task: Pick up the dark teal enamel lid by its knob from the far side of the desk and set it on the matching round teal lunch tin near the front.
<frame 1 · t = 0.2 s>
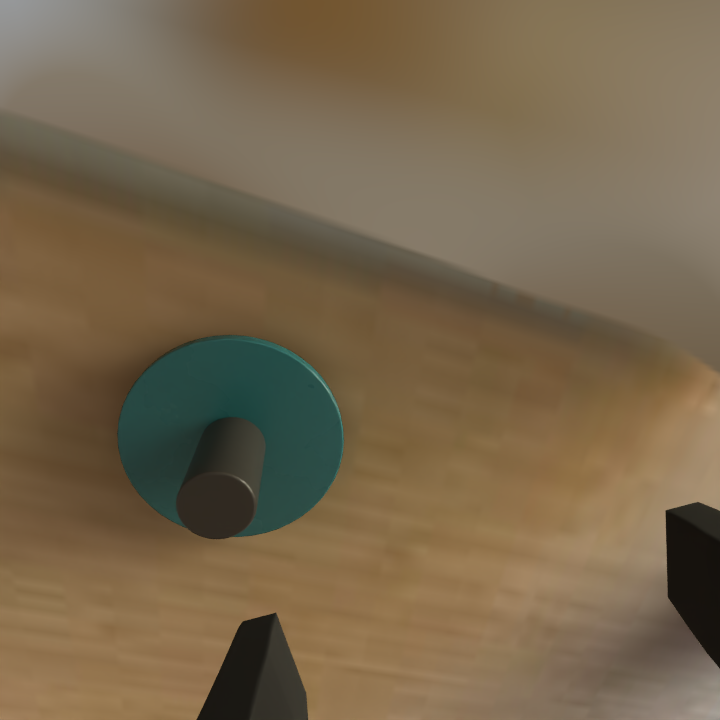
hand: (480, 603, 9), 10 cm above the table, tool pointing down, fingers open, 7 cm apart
tin lid: (235, 438, 18), point 1 cm above the table
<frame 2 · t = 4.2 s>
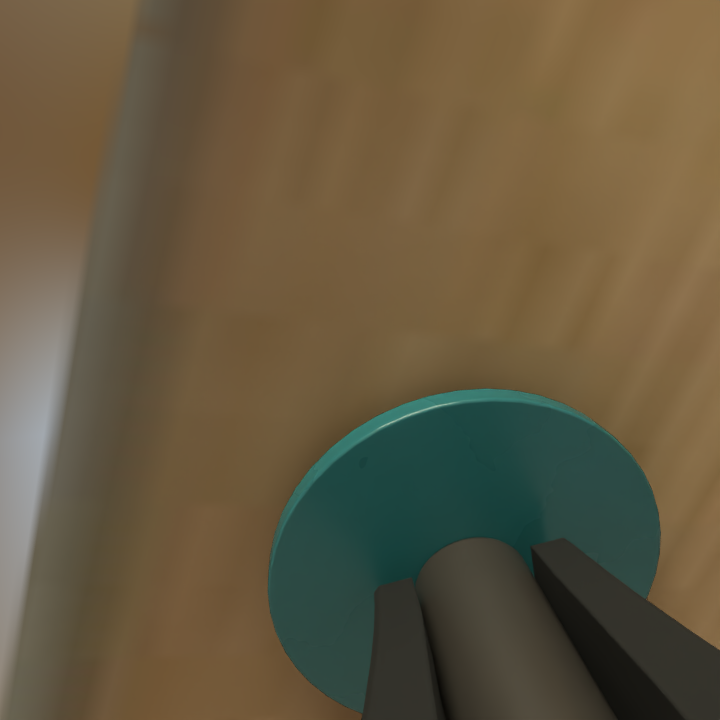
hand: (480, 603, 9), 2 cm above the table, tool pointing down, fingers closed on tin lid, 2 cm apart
tin lid: (462, 564, 10), point 1 cm above the table, touching gripper
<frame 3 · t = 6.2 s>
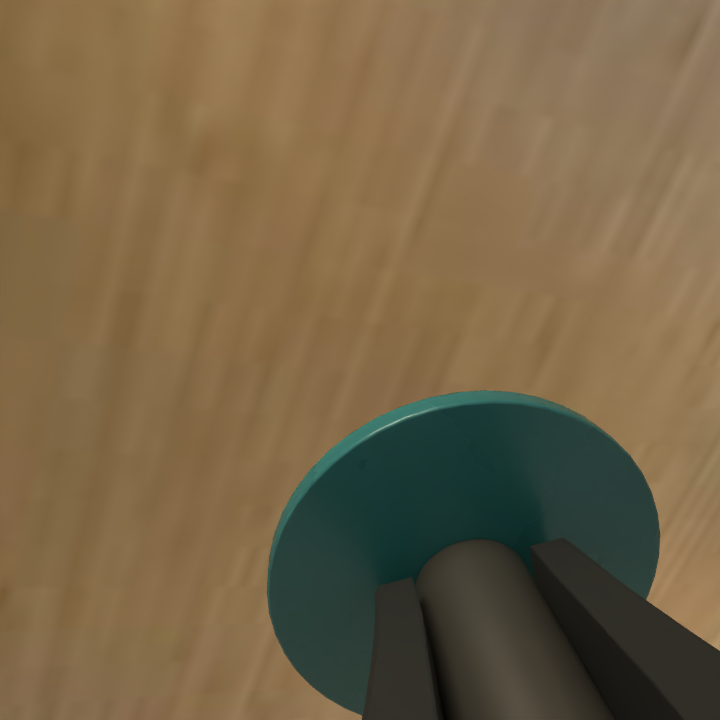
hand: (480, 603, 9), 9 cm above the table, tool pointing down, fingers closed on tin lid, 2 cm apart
tin lid: (462, 566, 10), point 8 cm above the table, touching gripper
when the fingers open (6 cm above the table, at t = 8.5 s): tin lid stays where it is, resting on lunch tin.
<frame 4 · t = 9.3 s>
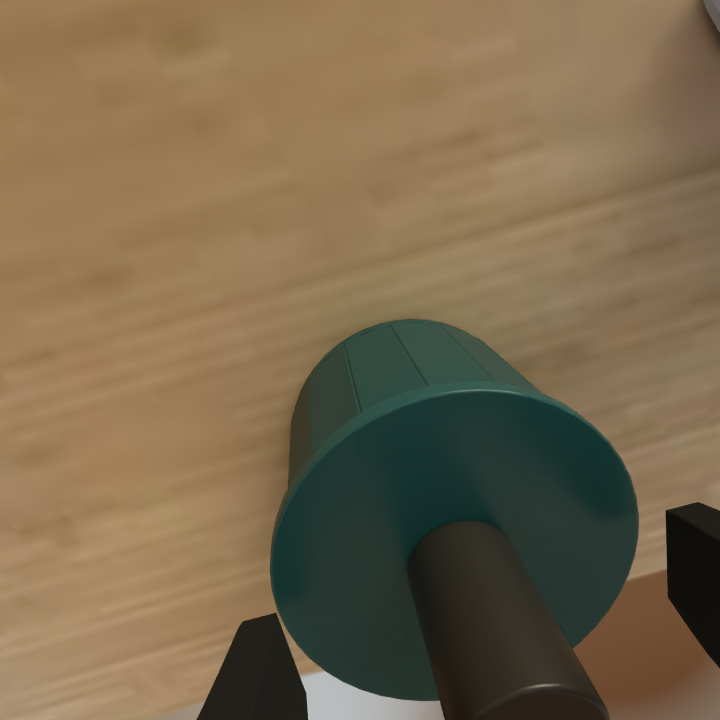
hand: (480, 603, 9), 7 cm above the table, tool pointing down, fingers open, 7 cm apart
lunch tin: (406, 428, 16), on the table
tin lid: (453, 547, 11), point 5 cm above the table, touching lunch tin
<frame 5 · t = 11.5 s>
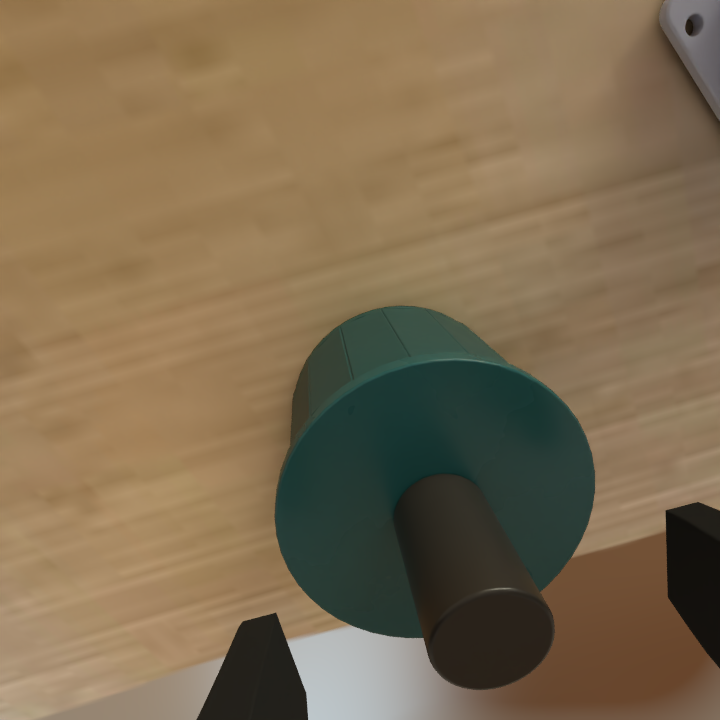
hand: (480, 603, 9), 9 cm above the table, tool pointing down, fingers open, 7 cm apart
lunch tin: (397, 406, 17), on the table
tin lid: (434, 500, 12), point 5 cm above the table, touching lunch tin
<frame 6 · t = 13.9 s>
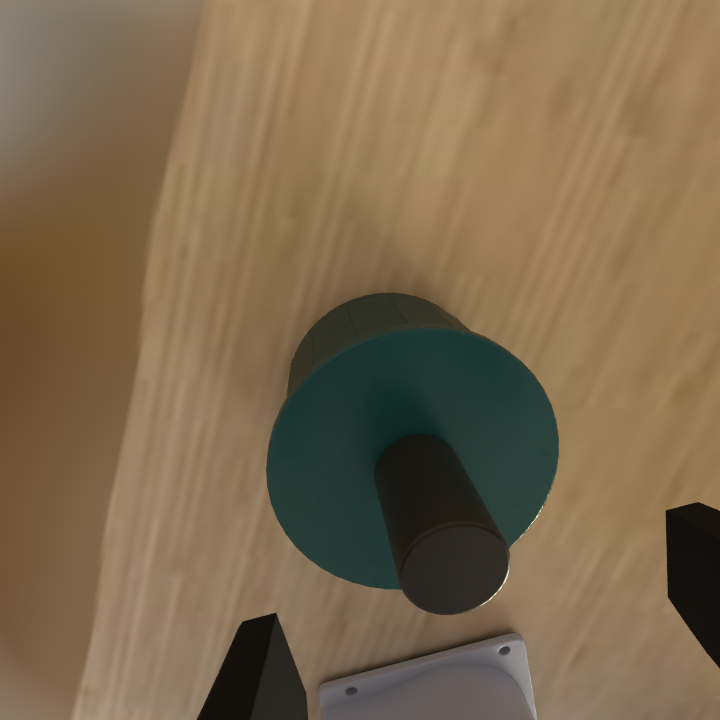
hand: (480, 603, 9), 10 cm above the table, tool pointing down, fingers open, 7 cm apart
lunch tin: (385, 387, 19), on the table
tin lid: (412, 461, 14), point 5 cm above the table, touching lunch tin
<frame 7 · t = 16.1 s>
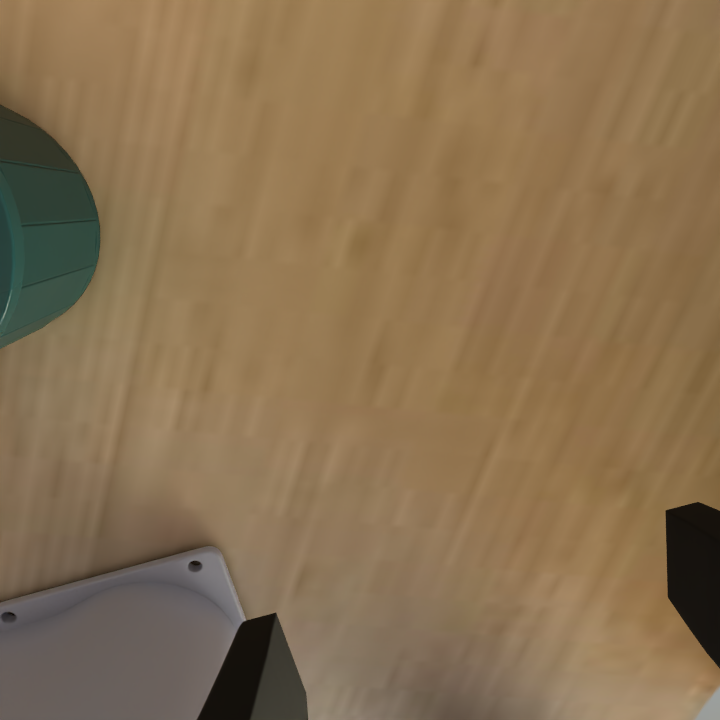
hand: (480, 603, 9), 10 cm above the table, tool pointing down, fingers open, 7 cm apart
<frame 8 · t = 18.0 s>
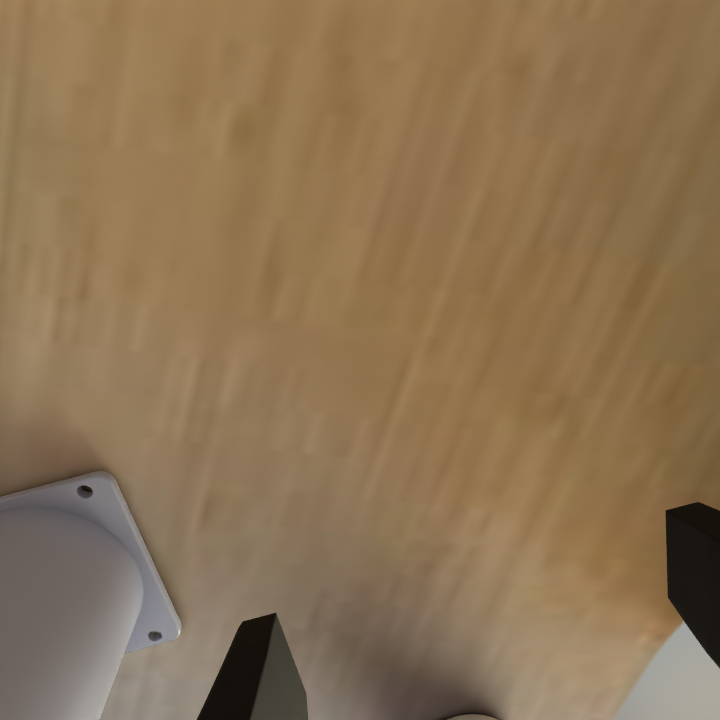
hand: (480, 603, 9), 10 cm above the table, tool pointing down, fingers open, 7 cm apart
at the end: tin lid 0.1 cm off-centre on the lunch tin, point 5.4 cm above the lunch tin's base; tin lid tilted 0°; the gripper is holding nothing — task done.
